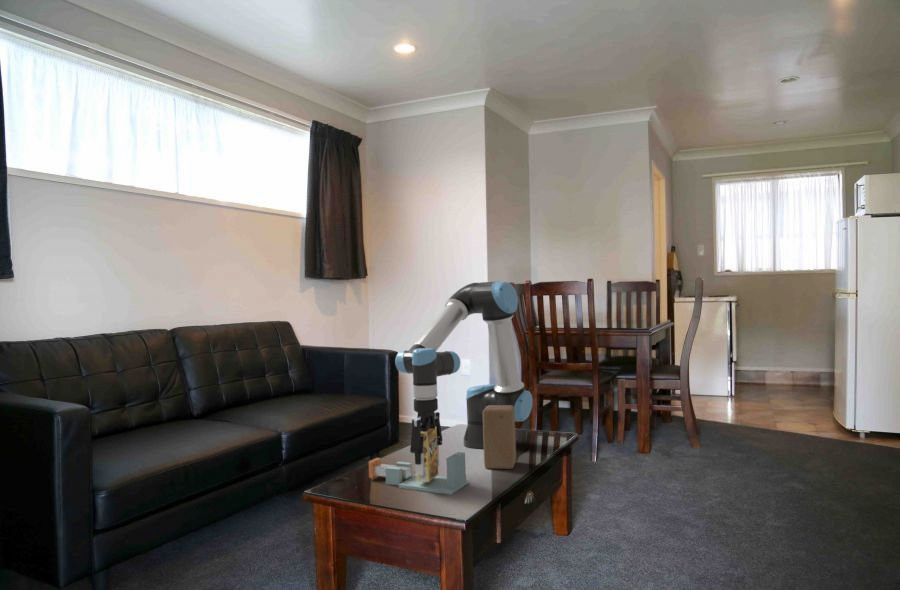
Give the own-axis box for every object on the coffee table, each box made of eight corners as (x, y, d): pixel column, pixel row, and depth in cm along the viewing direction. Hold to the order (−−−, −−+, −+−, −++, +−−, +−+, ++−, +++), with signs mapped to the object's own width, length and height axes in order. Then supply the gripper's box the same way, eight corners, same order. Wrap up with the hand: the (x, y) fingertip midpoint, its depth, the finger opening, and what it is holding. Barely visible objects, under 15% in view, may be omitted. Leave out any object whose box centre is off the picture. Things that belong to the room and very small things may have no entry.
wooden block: (513, 470, 201) (511, 410, 201) (483, 469, 203) (482, 409, 203) (516, 461, 211) (514, 404, 211) (488, 461, 213) (486, 404, 213)
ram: (377, 473, 199) (377, 457, 199) (412, 477, 193) (412, 461, 193) (369, 477, 195) (368, 461, 195) (404, 482, 189) (404, 465, 189)
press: (402, 475, 199) (401, 444, 199) (468, 483, 188) (467, 451, 188) (382, 485, 188) (381, 453, 188) (451, 494, 177) (450, 460, 177)
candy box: (429, 482, 183) (428, 432, 183) (416, 482, 184) (414, 431, 184) (438, 474, 191) (437, 426, 192) (426, 473, 193) (424, 425, 193)
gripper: (431, 392, 199) (433, 460, 199) (396, 403, 180) (399, 478, 180) (451, 393, 196) (454, 462, 196) (418, 404, 177) (420, 481, 176)
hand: (427, 470), depth 188 cm, fingers closed on candy box, 9 cm apart
